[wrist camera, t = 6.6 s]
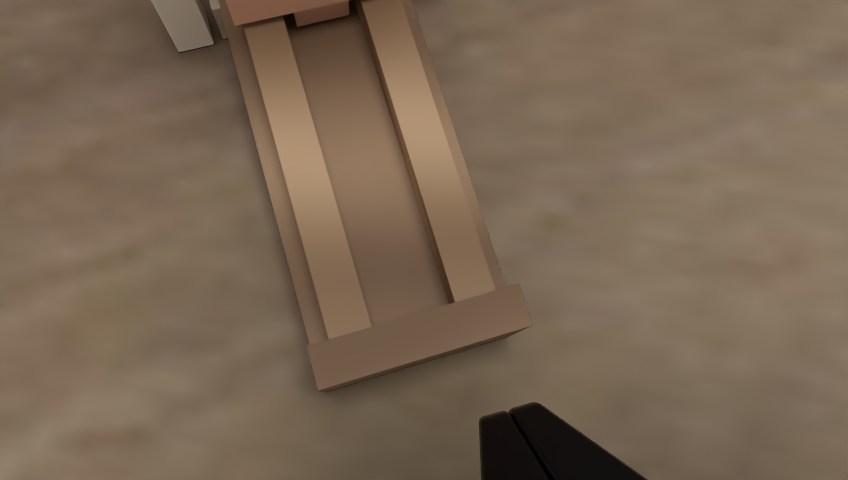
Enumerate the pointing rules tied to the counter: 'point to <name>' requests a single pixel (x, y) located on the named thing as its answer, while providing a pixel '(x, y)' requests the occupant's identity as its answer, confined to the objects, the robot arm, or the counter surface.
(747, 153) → the counter surface
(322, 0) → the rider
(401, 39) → the wooden tray
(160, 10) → the pair of white blocks
